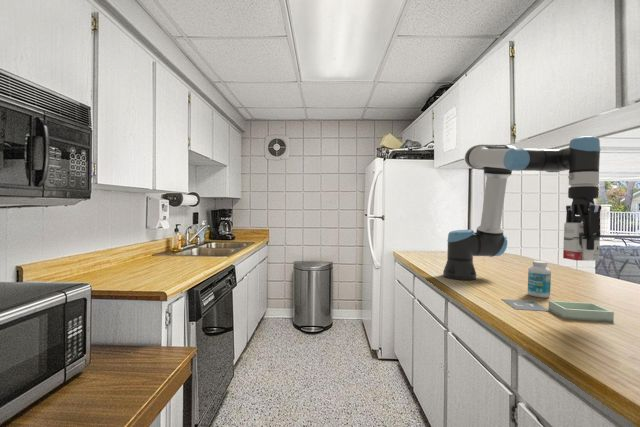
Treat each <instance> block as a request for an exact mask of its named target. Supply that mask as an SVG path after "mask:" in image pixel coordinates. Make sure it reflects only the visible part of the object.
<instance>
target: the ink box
mask: <svg viewBox="0 0 640 427" xmlns="http://www.w3.org/2000/svg"><path fill="white" fill-rule="evenodd" d="M563 225H564V226H563V228H564V229H563V251H562V252H563V253H562V257H563V259H567V260H572V261H580V262H581V261H586V262H587V261H588V262H589V261H592V262H593V261H600V242H601V240H600V239H601V237H600V238H596V239H595V240H594V258H593V260H582V248H583V238H582V237H585V235H584V229H583V223H568V222H566V221H565V222H564V223H563Z"/></svg>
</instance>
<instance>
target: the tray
mask: <svg viewBox="0 0 640 427" xmlns="http://www.w3.org/2000/svg"><path fill="white" fill-rule="evenodd" d="M548 310H550V311H549V312H552V313H553V314H556V315H558V316H559V317H561V318H563V319H564V320H577V321H593V322H594V321H596V322H610V323H611V322H612V323H614V320H615V319H614V316H615V312H614V311H613V310H610V309H607V308H605V307H604V306H600V305H598V304H596V303H593V302H582V301H581V302H579V301H578V302H577V301H562V300H561V301H559V300H548Z"/></svg>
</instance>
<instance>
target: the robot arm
mask: <svg viewBox="0 0 640 427" xmlns="http://www.w3.org/2000/svg"><path fill="white" fill-rule="evenodd" d="M465 152H466V153H465V155H464V161H465V163H466V165H467V166H468V167H470V168H471V169H474V170H482V171H483V174H484V175H485V177H486V178H485V181H486V182H485V186H484V188H485V189H484V195H483V204H482V213H481V219H480V225H479V226H477V227H476V230H475V231H476V232H474V230H473V229H457V230H452V231H449V232H448V234H447V241H446V242H447V258H446V263H445V266H444V268H443V271H442V272H443V274H442V276H443V277H444V278H447V279H452V280H460V281H473V280H476V279H477V272H476V269H475V265H474V257H491V258H493V257H500V256H502V255H503V254H504V253H505V252H506V250H507V247H508V238H507V236H506V234H505V233H504V230H503V229H502V228H501V224H502V217H503V211H504V210H503V209H504V203H505V197H506V196H505V194H506V189H507V183H508V182H507V181H508V178H509V177H510V176H512V175H513V174H512V172H514V171H516V172H519V171H520V172H521V171H527V172H528V171H529V172H530V171H531V172H532V171H534V172H535V171H536V172H539V171H540V172H547V173H560V172H563V171H564V172H565V171H568V176H567V179H568V186H570V187H568V189H567V190H568V191H567V192H568V193H567V197H568V199H570V200H571V199H572V202H571V204H569V205H568V204H567V205H566V206H565V211H566V214H565V215H566V216H565V223H566V222H568V223H583V229H584V235H585V237H582V238H583V248H582V260H583V261H584V260H593V258H594V240H595V239H596V238H600V239H601V211H602V205H601V204H595V201H594V199H598V198H599V190H600V189H599V186H598V185H600V159H601V158H600V157H601V156H600V155H601V142H600V138H599V137H597V136H580V137H575V138H572V139H571V140H570V141H569V145H568V147H565V148H562V149H561V148H560V149H559V148H558V149H555V148H553V149H552V148H551V149H550V148H549V149H546V148H539V149H538V148H521V147H518V148H516V147H515V146H514V145H511V144H510V145H509V144H476V145H473V146H471V147H470V148H468V149H467V151H465Z"/></svg>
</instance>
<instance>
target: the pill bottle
mask: <svg viewBox="0 0 640 427" xmlns="http://www.w3.org/2000/svg"><path fill="white" fill-rule="evenodd" d="M547 266H548V262H547V261H542V260H532V266H530V267H529V268H528V272H527V295H529V296H531V297H535V298H542V299H547V298H550V297H551V285H552V284H551V283H552V282H551V281H552V270H551V269H550V268H549V267H547Z"/></svg>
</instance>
